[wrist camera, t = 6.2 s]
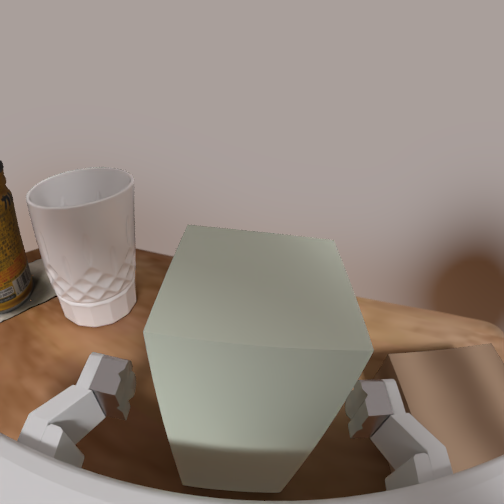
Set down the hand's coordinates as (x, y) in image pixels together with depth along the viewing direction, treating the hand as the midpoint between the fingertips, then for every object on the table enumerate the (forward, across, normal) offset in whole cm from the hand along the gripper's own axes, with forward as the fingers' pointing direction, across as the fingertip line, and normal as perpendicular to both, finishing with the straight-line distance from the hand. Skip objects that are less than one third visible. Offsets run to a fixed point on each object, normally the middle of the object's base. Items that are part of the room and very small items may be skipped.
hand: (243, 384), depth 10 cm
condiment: (+10, +21, +8) cm, 25 cm away
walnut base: (0, -14, +8) cm, 16 cm away
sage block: (0, 0, +8) cm, 8 cm away
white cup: (+11, +12, +8) cm, 18 cm away
